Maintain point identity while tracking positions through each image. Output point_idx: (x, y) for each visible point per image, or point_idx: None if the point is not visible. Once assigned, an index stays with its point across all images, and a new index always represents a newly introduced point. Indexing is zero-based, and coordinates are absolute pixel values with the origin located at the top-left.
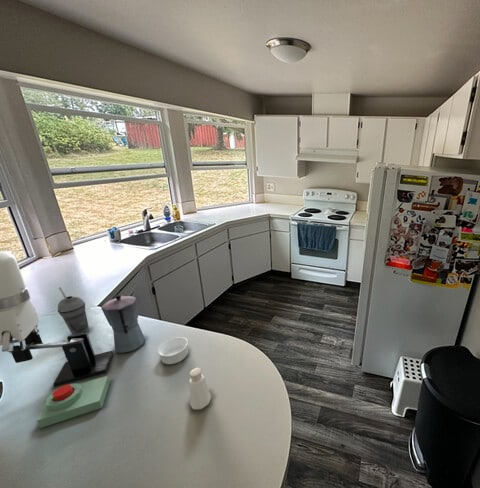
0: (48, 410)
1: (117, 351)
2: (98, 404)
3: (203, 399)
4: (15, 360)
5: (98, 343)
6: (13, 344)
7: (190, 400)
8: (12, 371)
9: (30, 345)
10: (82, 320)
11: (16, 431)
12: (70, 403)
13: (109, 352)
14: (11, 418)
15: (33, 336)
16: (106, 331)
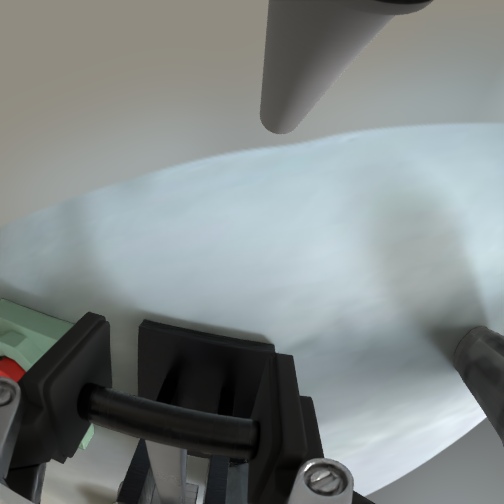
0: (1, 331)
1: (230, 469)
2: None
3: None
4: (78, 325)
5: (351, 417)
6: (8, 455)
7: None
8: (378, 151)
9: (160, 445)
10: (485, 413)
11: (9, 245)
12: None
13: (234, 459)
14: (56, 218)
15: (252, 494)
16: (412, 423)
